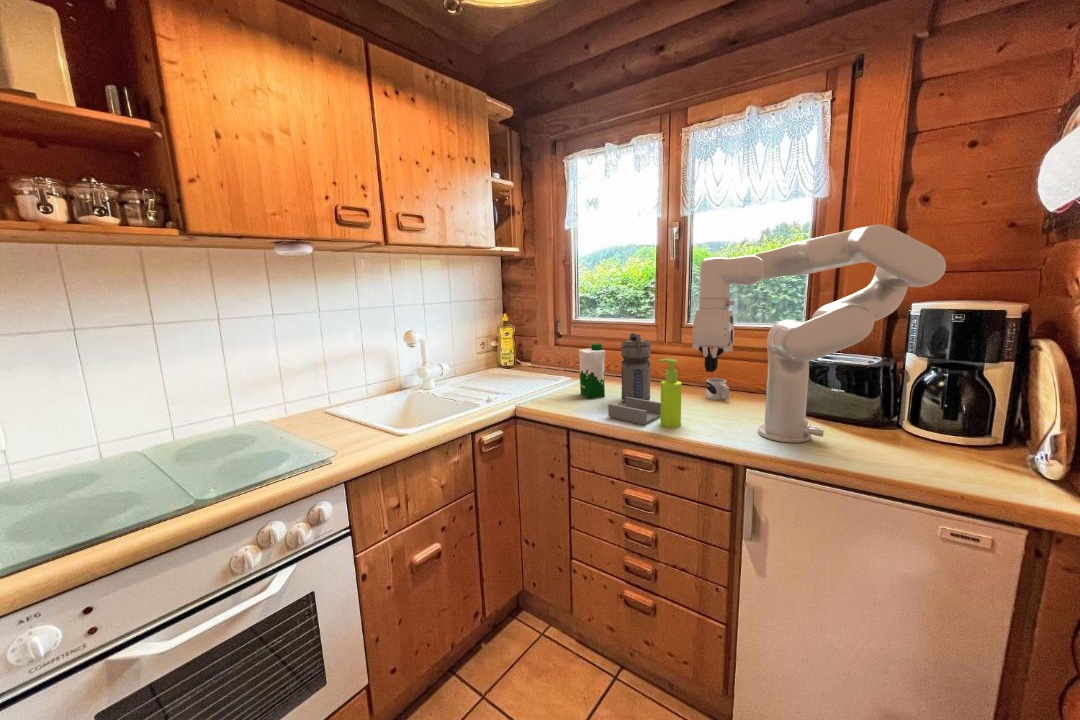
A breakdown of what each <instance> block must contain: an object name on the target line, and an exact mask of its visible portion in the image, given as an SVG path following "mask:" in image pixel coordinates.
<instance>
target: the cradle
mask: <svg viewBox="0 0 1080 720" xmlns="http://www.w3.org/2000/svg"><path fill="white" fill-rule="evenodd" d="M607 405H608V406H607V407H608V411H607V413H608V417H609V419H615V420H620V421H623V422H624V421H625V422H629V423H632V424H633V423H634V424H638V425H643V426H647V425H649V424H650V423H652V422H655V421H656V420H658V419H661V401H655V400H643V399H637V398H632V397H625V402H624V405H620V404H614V403H609V404H607Z"/></svg>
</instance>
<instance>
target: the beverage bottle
mask: <svg viewBox="0 0 1080 720" xmlns="http://www.w3.org/2000/svg"><path fill="white" fill-rule="evenodd" d="M620 349H621V352H620V353H621V354H620V356H621V358H622V359H623V360H622V361H621V363H620V364H621V365H620V366H621V400H622V401H623V402H624V403H625V397H632V398H637V399H643V400H649V401H651V361H650V360H649V359H650V357H651V339H648V340H641V334H636V333H635V332H634V333H633V332H632V333H630V335H629V340H621V348H620Z"/></svg>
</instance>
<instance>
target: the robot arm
mask: <svg viewBox="0 0 1080 720" xmlns="http://www.w3.org/2000/svg"><path fill="white" fill-rule="evenodd" d="M863 263H870V264H873V265H874V266H876V268H875V271H874V275H873V278H872V280H871V281H870V283H869V284H868V285H867V286H866V287H864V288H862V289H860V290H858V291H856V292H853V294H850V295H848V296H845V297H842V298H839V299H837V300H835V301H832V302H830V303H827V304H824V305H823V306H820V307H819V308H818V309H817V310H816V311H815V312H813V314H812V317H811V319H809V320H806V321H800V320H796V319H784V320H780V321H778V322H776V323H775V324H773V325H772V327H771V328H770V329H769V332H768V334H767V338H766V345H767V346H766V348H767V379H766V394H765V395H766V398H765V411H764V413H765V414H764V424H762V425H759V426H758V428H757V432H758V434H759V435H760V436H761V437H763V438H765V439H769V440H772V441H777V442H781V443H789V444H790V443H793V444H798V443H805V442H808V441H810V440H811V439H812V435H814V436H815V437H821V438H822V437H824V434H825V430H824V429H822V428H821V427H820V426H816V425H811V424H809V419H806V416H807V415H806V414H807V404H808V403H807V402H808V387H809V377H810V362H811V361H815V360H818V359H821V358H823V357H827V356H829V355H831V354H833V353H837V352H839V351H842V350H844V349H848V348H849V347H852V346H854V345H857V344H858V343H860V342H862V341H863V340H865V339H866V338H867V337H868V336H869V335H870V334H871V332H872V331H873V330H874V329H873V328H874V324H875V322H877V321H879V320H881V319H883V318H886V317H887V316H890V315H891V314H892V313H894V312H895V311H896V310H897V309H898V308H899V307H900V305H901V304H902V302H903V301H904V298H905V296H906V293H907V291H908V288H924V287H927V286H931V285H933V284H935V283H936V282H938V281H940V279H941V278H942V277H943V276H944V274H945V272H946V268H947V265H946V264H947V263H946V260H945V258H944V256H943V254H941V252H939V251H938V250H936V249H935V248H933V247H931V246H929V245H928V244H925V243H924V242H921V241H919V240H917V239H916V238H913V237H911V236H910V235H907V234H906V233H904V232H902V231H900V230H898V229H896V228H894V227H891V226H889V225H886V224H885V225H884V224H878V223H877V224H872V225H871V224H870V225H868V226H867V225H866V226H862V227H858V228H853V229H848V230H845V231H840V232H836V233H831V234H827V235H824V236H819V237H813V238H809V239H804V240H801V241H797V242H794V243H790V244H787V245H785V246H782V247H779V248H774V249H770V250H766V251H763V252H757V253H753V254H748V255H743V256H736V257H729V258H728V257H723V256H722V257H721V256H719V257H707V258H704V259H702V260H701V262H700V272H699V273H700V275H699V277H700V278H699V301H698V309H696V310H695V311H696V312H695V314H694V315H695V316H694V320H693V326H692V332H691V333H692V334H691V340H692V341H691V342H692V346H691V348H692V349H694V350H698V351H699V352H700V353H701V354H702V356H703V358H704V368H705V372H707V373H709V372H710V373H713V372H716V370H717V369H718V364H719V363H718V361H719V358H720V356H721V355H722V354H723V353H728V352H729V353H730V352H732V351H733V350H734V348H733V345H734V342H735V325H734V324H735V321H734V320H735V319H734V315H733V314H734V313H733V309H730V307H733V306H735V303H736V302H735V300H732V299H731V297H730V295H731V292H730V291H731V285H732V284H734V285H741V286H742V285H743V286H751V285H754V284H757V283H759V282H760V281H764V280H768V279H774V278H779V277H780V278H781V277H790V276H791V277H793V276H795V277H796V276H803V275H809V274H814V273H819V272H824V271H827V270H828V271H829V270H833V269H838V268H842V267H843V268H844V267H847V266H854V265H856V264H863ZM711 348H712V350H711Z"/></svg>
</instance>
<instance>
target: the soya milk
mask: <svg viewBox="0 0 1080 720" xmlns="http://www.w3.org/2000/svg"><path fill="white" fill-rule="evenodd" d="M578 355H579V356H578V358H579V383H580V384H579V385H580V386H579V387H580V396H582V397H584V398H585V399H587V400H590V399H591V400H592V399H598V398H605V397H606V395H605V394H606V393H605V390H606V389H605V386H606V385H605V356H606V350H604V349H603V344H602V343H591V348H583V349H578Z"/></svg>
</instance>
